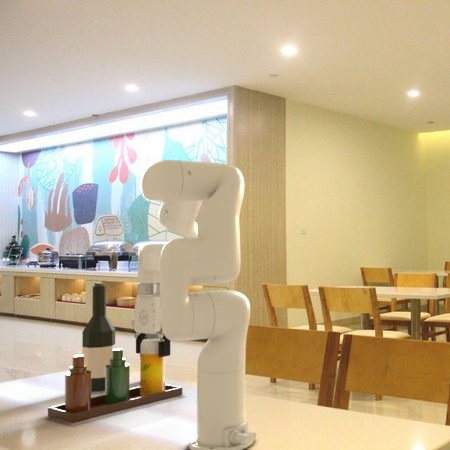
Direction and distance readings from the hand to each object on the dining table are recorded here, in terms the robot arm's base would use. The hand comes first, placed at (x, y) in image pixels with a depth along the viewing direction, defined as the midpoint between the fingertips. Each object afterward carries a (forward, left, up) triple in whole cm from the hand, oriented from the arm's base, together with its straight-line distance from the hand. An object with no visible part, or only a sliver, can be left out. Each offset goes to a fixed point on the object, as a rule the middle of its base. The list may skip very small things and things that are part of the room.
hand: (152, 354), depth 161 cm
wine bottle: (+21, +2, -12) cm, 24 cm away
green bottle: (0, +10, -11) cm, 15 cm away
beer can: (0, 0, -11) cm, 11 cm away
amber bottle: (0, +20, -11) cm, 23 cm away
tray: (0, +9, -12) cm, 15 cm away
